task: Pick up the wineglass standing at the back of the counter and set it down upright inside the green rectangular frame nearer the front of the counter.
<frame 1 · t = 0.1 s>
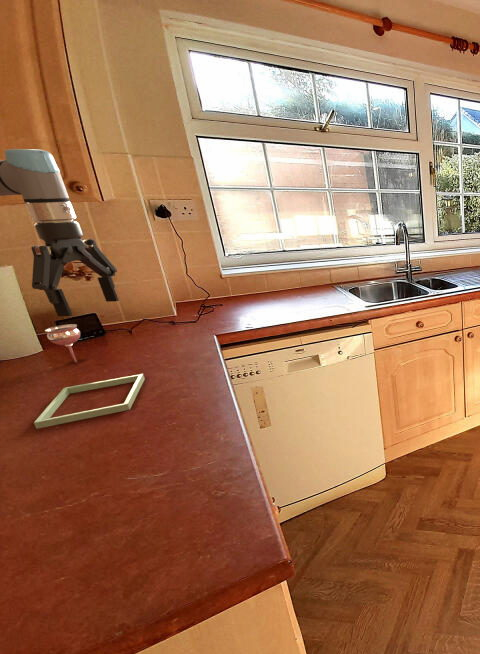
hand: (90, 308, 108), 21 cm above the counter, tool pointing down, fingers open, 13 cm apart
green rectangular frame: (98, 405, 103), on the counter
wineglass: (77, 366, 126), on the counter
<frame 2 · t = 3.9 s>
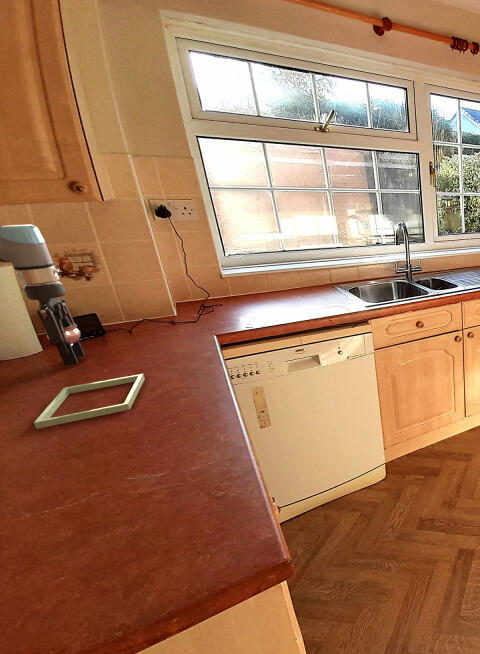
hand: (75, 360, 125), 2 cm above the counter, tool pointing down, fingers closed on wineglass, 6 cm apart
wineglass: (77, 366, 126), on the counter, touching gripper
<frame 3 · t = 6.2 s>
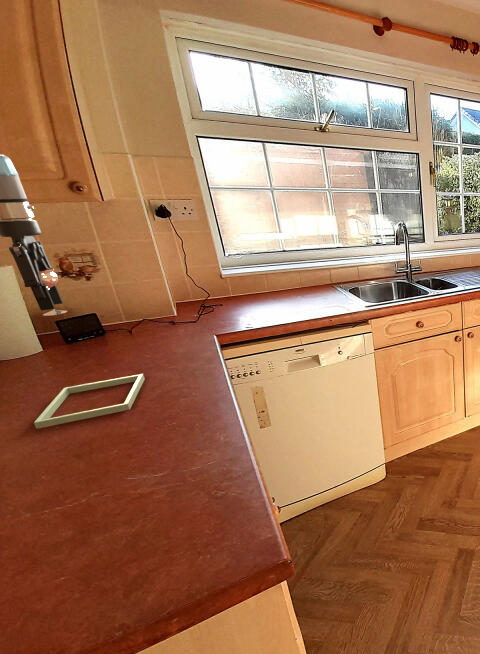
hand: (52, 306, 117), 19 cm above the counter, tool pointing down, fingers closed on wineglass, 6 cm apart
wineglass: (55, 313, 118), point 17 cm above the counter, touching gripper
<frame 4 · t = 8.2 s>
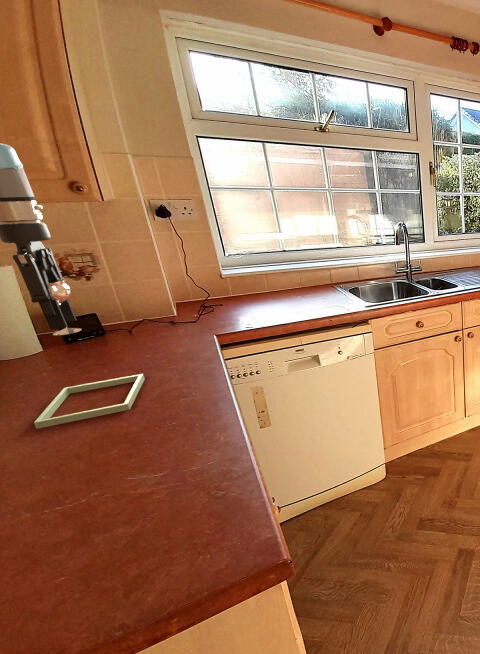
hand: (64, 324, 100), 19 cm above the counter, tool pointing down, fingers closed on wineglass, 6 cm apart
wineglass: (67, 332, 100), point 17 cm above the counter, touching gripper
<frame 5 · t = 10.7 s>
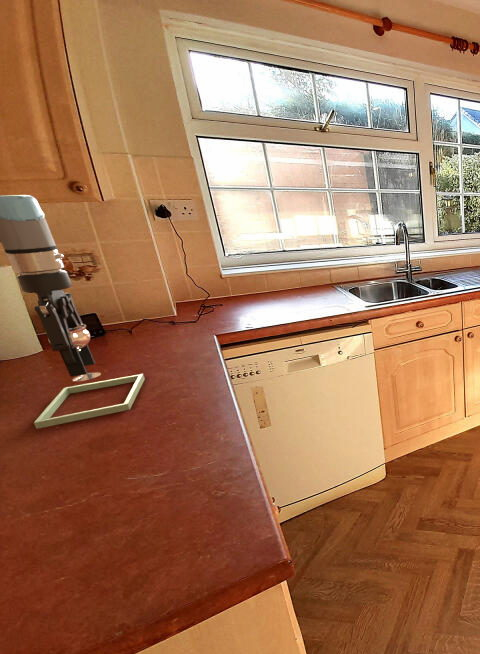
hand: (83, 369, 99), 10 cm above the counter, tool pointing down, fingers closed on wineglass, 6 cm apart
wineglass: (87, 377, 100), point 8 cm above the counter, touching gripper
when the fingers open (3 cm above the counter, at t = 12.6 s): wineglass stays where it is, resting on green rectangular frame.
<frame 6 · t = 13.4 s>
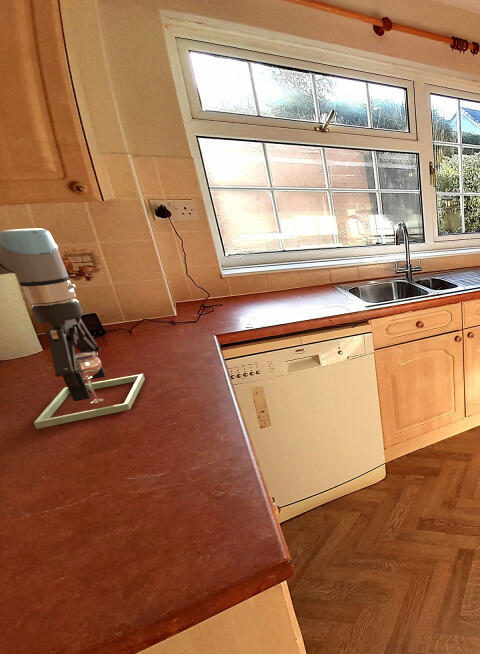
hand: (91, 388, 101), 5 cm above the counter, tool pointing down, fingers open, 13 cm apart
wineglass: (98, 403, 102), point 1 cm above the counter, touching green rectangular frame
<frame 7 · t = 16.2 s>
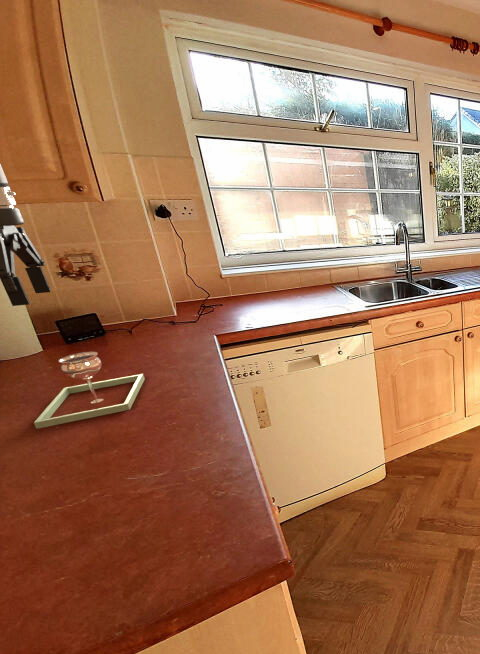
hand: (33, 298, 104), 24 cm above the counter, tool pointing down, fingers open, 13 cm apart
nothing on the counter moved.
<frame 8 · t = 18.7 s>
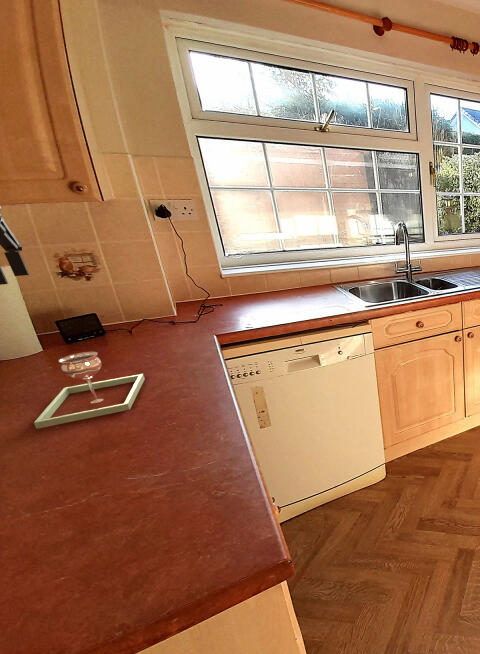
hand: (11, 279, 112), 27 cm above the counter, tool pointing down, fingers open, 13 cm apart
nothing on the counter moved.
at the end: wineglass inside the target area in the green rectangular frame (0.1 cm from its centre), point 0.6 cm above the green rectangular frame's base; wineglass tilted 0°; the gripper is holding nothing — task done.
